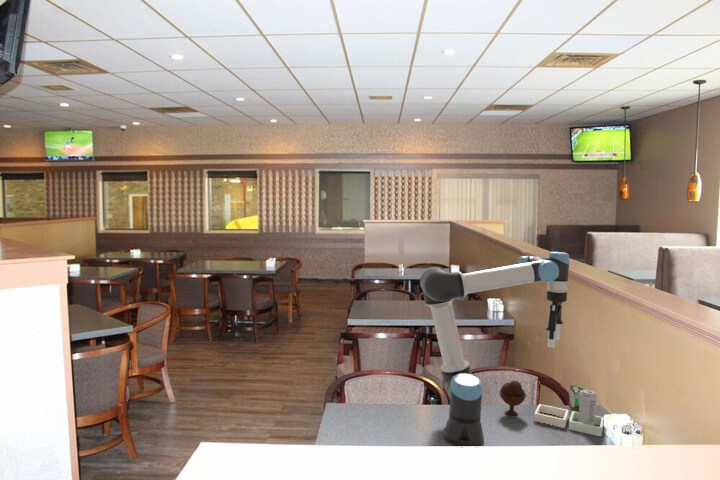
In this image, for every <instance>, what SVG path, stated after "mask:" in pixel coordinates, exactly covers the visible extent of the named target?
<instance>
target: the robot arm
mask: <svg viewBox="0 0 720 480" xmlns="http://www.w3.org/2000/svg"><path fill="white" fill-rule="evenodd" d="M569 269H570V254H569V253H568V252H563V251H561V252H560V251H551V252H549V254H548V256H533V255H531V256H530V255H522V256H519V257H518V260H517V264H511V265H505V266H501V267H500V266H499V267H495V268H490V269H489V268H488V269H483V270H477V271H471V272H466V273H462V272H461V271H455V272H447V271H446V270H445V269H443V268H441V267H437V266H436V267H435V266H434V267H433V266H432V267H428V268H427V269H425V270H424V271H423V272H422V273H421V276H420V278H419V285H420V288H421V290H422V294H423V298H424V302H425V305H426V306H428V307H429V308H430V312H431V316H432V320H433V324H434V329H435V333H436V339H437V342H438V347H439V350H440V354H441V359H442V365H441V367H440V371H441V376H442V378H441V379H442V387H443V389H444V390H445V391H446V394H447V396H448V398H449V411H448V412H449V414H448V415H449V416H448V418H447V421H446V424H445V427H444V428H443V439H444V440H445V442H447V443H448V444H450V445H453V446H455V447H458V446H479V447H480V446H483V445H484V443H485V433H484V431H483V427H482V422H481V416H482V415H481V414H482V401H483V398H482V397H483V396H482V395H483V390H484V389H483V383H482V381H481V379H479V378H478V377H477V376H474V375H473V374H472V370H471V366H470V362H469V361H467V360H465V357H464V351H463V347H462V344H461V339H460V334H459V330H458V325H457V322H456V317H455V312H454V308H453V304H452V303H453V301H454V300H456V299H461V298H465V297H466V296H467V294H474V293H478V292H484V291H490V290H498V289H501V288H508V287H513V286H518V285H524V284H529V283H536V282H547V283H546V290H547V291H546V300H547V301H550V302H551V304H550V306H549V316H548V324H547V327H546V331H547V346H546V347H547V348H552V349H555V348H556V341H560V339H561V325H563V320H562V308H563V305H562V303H566V302H567V300H568V292H567V291H568V287H569V286H570V283H569V282H568V281H569Z"/></svg>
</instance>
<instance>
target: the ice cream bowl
mask: <svg viewBox="0 0 720 480" xmlns="http://www.w3.org/2000/svg"><path fill="white" fill-rule="evenodd" d="M499 396H500V398H501V400H502V401H504V403H505V404H506V405H508V406H509V409H508V410H506V411H505V412H504V414H505V416H507V415H508V416H507V417H511V416H517V417H518V416H519V414H518V412H517V411H515V407H516V406H519V405H520V404H522V403H523V402H524V401H525V399H526V397H527V394H526V391H525V390H524V388H523V387H522V384H521V382H519V381H517V380H511V381H510V382H505V383H504V384H502V386H501V388H500V390H499Z"/></svg>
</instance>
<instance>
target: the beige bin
mask: <svg viewBox="0 0 720 480" xmlns="http://www.w3.org/2000/svg"><path fill="white" fill-rule="evenodd" d="M569 411H570V409H567V408H566V409H565V408H560V407H556V406H551V405H546V404H541V403H539V404H538V405H537V407H536V409H535V411H534V415H533V416H534V417H533V421H535V423H538V422H540V423H539V424H543V423H546V424H545V425H547V424H550V425H549V426H552V425H554V426H553V427H556V426H557V427H558V428H561V429H566V425H567V422H568V421H569ZM540 412H543V413H540ZM544 413H548V414H553V415H556V416H553V415H548V414H544ZM558 416H559V417H558Z"/></svg>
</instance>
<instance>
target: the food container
mask: <svg viewBox="0 0 720 480" xmlns="http://www.w3.org/2000/svg"><path fill="white" fill-rule="evenodd" d="M582 390H586V389H585V388H583V386H582V387H581V386H578V385H575V384H569V397H568V398H569V399H568V400H569V401H568V407H569V411H571V413H572V411H576V412H579V405H580V394H581V392H582Z"/></svg>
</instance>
